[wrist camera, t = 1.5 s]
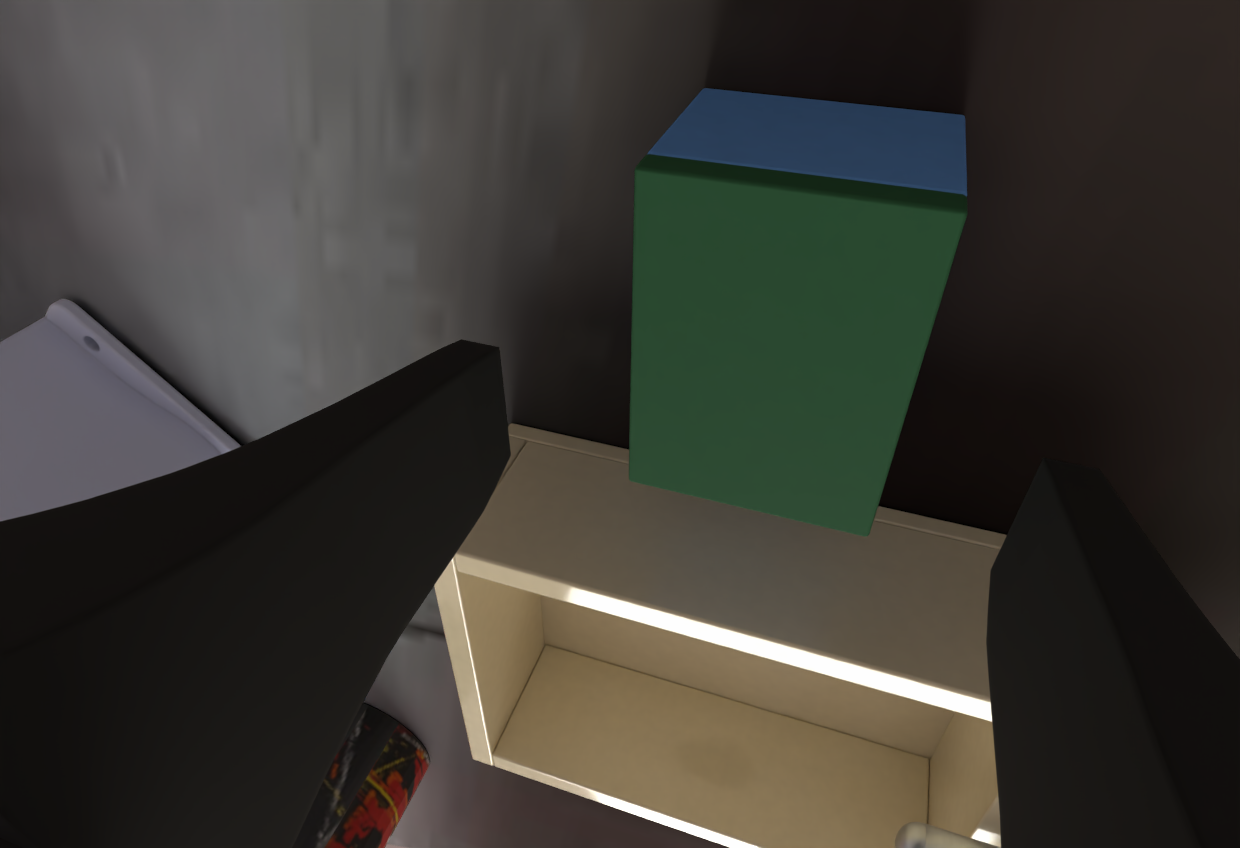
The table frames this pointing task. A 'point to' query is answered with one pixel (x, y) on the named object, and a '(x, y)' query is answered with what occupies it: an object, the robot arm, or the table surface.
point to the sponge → (787, 297)
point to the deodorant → (365, 785)
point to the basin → (723, 657)
